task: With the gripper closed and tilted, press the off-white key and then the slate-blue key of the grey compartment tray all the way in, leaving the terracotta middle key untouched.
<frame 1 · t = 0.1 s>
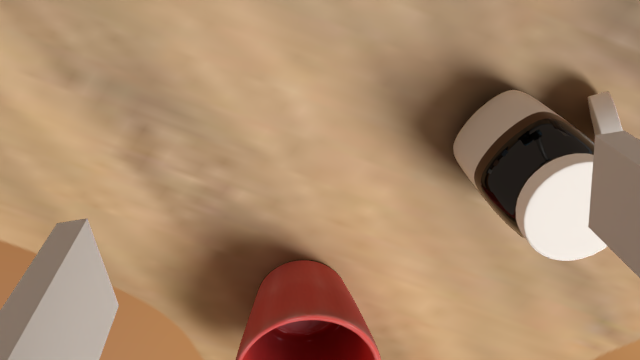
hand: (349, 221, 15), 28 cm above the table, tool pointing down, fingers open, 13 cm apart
flower pot: (300, 295, 50), on the table
spread jar: (531, 132, 45), on the table
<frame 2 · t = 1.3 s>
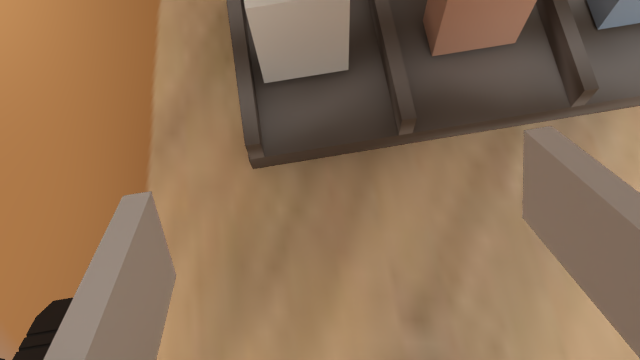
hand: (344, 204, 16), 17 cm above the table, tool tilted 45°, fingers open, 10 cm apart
key offwhite: (299, 22, 31), point 5 cm above the table, slide at 0.0 cm
grey compartment tray: (461, 44, 36), on the table
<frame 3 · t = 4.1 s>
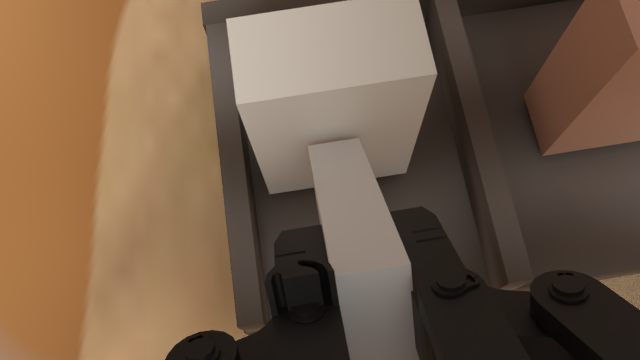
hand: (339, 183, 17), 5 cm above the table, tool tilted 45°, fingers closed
key offwhite: (331, 108, 18), point 5 cm above the table, slide at 0.2 cm, touching gripper
grey compartment tray: (577, 128, 23), on the table
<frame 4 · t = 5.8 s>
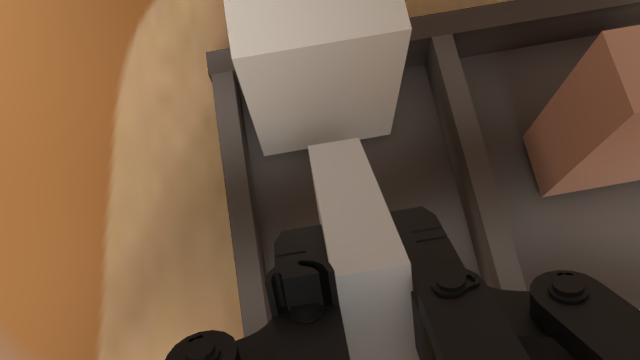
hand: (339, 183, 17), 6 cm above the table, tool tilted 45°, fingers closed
key offwhite: (318, 70, 20), point 5 cm above the table, slide at 3.6 cm
grey compartment tray: (575, 165, 24), on the table
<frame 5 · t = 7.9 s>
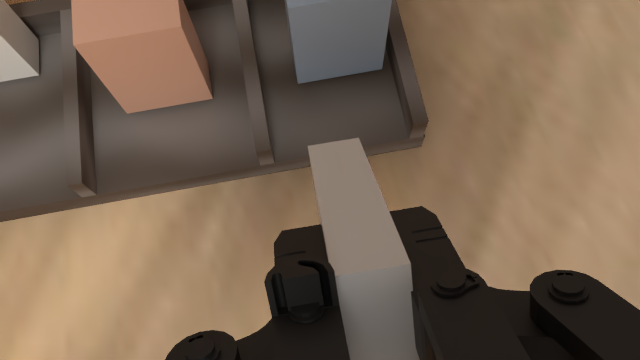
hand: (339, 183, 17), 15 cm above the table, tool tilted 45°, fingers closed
key terracotta: (149, 54, 30), point 5 cm above the table, slide at 0.0 cm
grey compartment tray: (175, 97, 36), on the table
key slate: (335, 22, 31), point 5 cm above the table, slide at 0.0 cm
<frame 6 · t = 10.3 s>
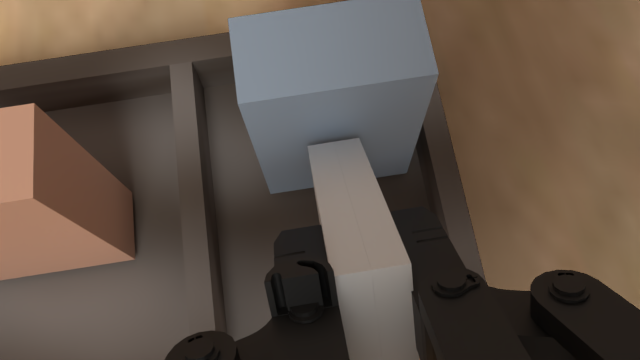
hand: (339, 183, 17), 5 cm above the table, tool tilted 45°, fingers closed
key terracotta: (10, 207, 17), point 5 cm above the table, slide at 0.0 cm
grey compartment tray: (84, 240, 22), on the table
key slate: (332, 108, 18), point 5 cm above the table, slide at 1.6 cm, touching gripper
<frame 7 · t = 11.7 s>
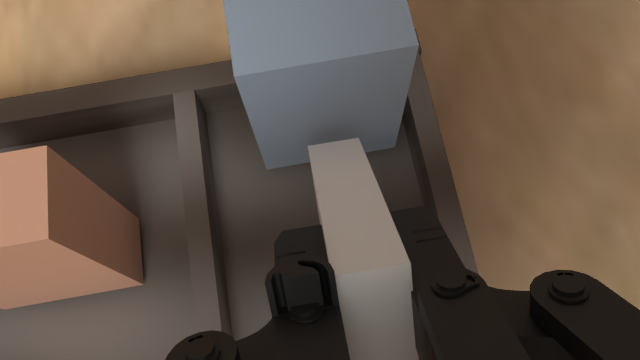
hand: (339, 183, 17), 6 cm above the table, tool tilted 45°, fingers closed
key terracotta: (22, 240, 18), point 5 cm above the table, slide at 0.0 cm
grey compartment tray: (93, 265, 23), on the table
key slate: (322, 84, 19), point 5 cm above the table, slide at 3.6 cm
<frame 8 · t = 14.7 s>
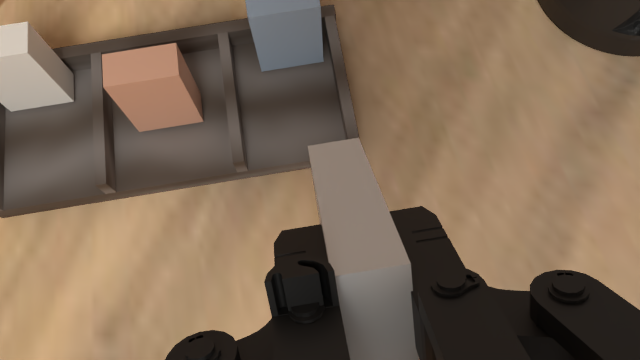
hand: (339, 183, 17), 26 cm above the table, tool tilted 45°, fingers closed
key offwhite: (18, 69, 43), point 5 cm above the table, slide at 3.6 cm
key terracotta: (156, 90, 42), point 5 cm above the table, slide at 0.0 cm
grey compartment tray: (176, 119, 47), on the table
key slate: (286, 27, 43), point 5 cm above the table, slide at 3.6 cm
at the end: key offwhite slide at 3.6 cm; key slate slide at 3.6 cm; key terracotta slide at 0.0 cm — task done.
